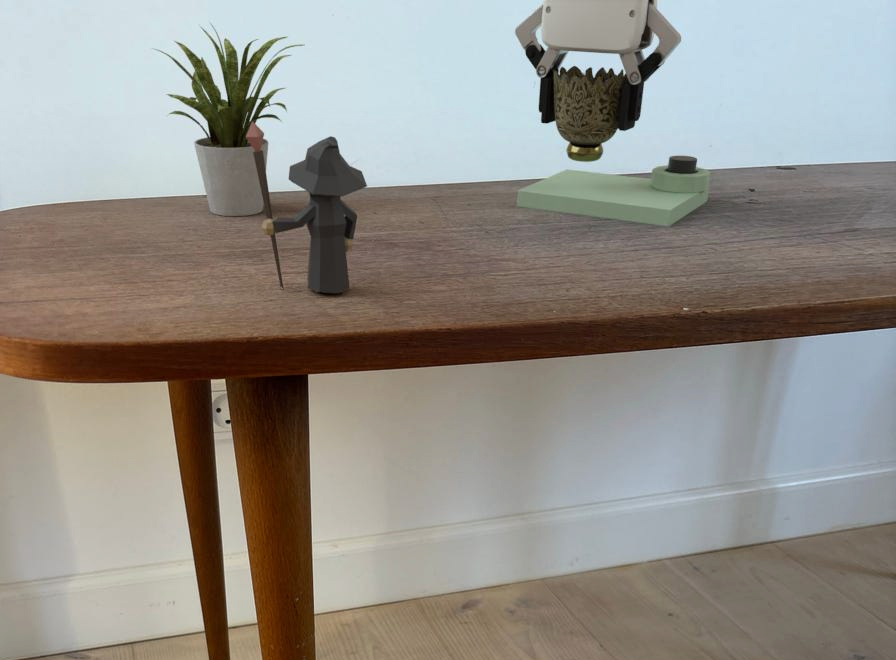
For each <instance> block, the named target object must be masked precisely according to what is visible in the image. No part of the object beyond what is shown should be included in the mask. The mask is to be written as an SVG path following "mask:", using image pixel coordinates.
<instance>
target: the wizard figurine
mask: <svg viewBox="0 0 896 660" xmlns="http://www.w3.org/2000/svg"><path fill="white" fill-rule="evenodd" d="M264 137H265V132H264V131H263V130H262V129H261V128H260V127H259V126H258V125H257V124H256V123H254V122H253V121H252V123H251V126H250V128H249V130H248V133H247V135H246V138H247V140H248V141H249V143H250V144H251V146H252V147H253V148H254V150H255V151H254V152H253V154H254V159H255V164H256V168H257V173H258V178H259V182H260V187H261V192H262V197H263V207H264V210H265V216H266V219H265V220H263V221H262V222H263V223H262V225H261V229H262V231H263V234H264V235H267V236H270V240H271V245H272V251H273V255H274V260H275V265H276V271H277V277H278V281H279V287H280V288H281V287H282V288H283V289H284V284H283V276H282V270H281V264H280V258H279V252H278V246H277V245H278V244H277V238H276V234H279V233H283V232H288V231H291V230H296V229H299V228H300V229H301V228H303V227H304V226H306V229H307V230H308V233H309V237H310V241H309V253H308V267H307V289H308V288H309V289H311V290H313V291H317V292H322V293H324V294H325V293H326V294H339V293H342V292H344V291H346V290H348V289H350V288H351V287H350V278H349V269H348V260H347V252H349V251H350V250H352V248H353V246H354V243H353V240H354V237H355V231H356V226H357V220H358V214H357V213H356V211H354V210H353V209H352V208H351V207H350V206H349V205H348V204H347V203H346V202H344V201H343V200H342V199H341V197H342V198H343V197H344V196H347V195H349V194H352V193H355V192H357V191H360V190H362V189H365V188H367V187H368V185H367V181H366V180H365V176H364V174H363V171H362V170H360V169H357V168H355V167H353V166H351V165H350V164H349V163H348V161H346V160H345V158H344V156H343V155H342V153H341V152H340V147H339V143H338V140H337V138H336V137H335V136H332V135H330V136H327V137H326V138H323V139H321V140H319V141H317V142H316V143H314V144H313V145H311V146H309V147H308V148H307V150H306V154H305V158H304V159H303V160H301V161H299V162H297V163H294V164H291V165H289V172H288V180H289V181H290V182H291V183H293V184H294V185H296V186H298V187H300V188H301V189H303V190H305V191H306V192H307V193H308V197H309V203H308V204H307V206H305V207H304V208H303V209H302V210H301V211H299V212H298V213H297V214H296V215H295V216H293V217H279V216H278V217H276V218H273V212H272V204H271V197H270V191H269V184H268V177H267V168H266V169H265V162H264V155H263V150H261V146H262V142H263V139H264ZM309 289H308V290H309ZM311 290H310V291H311ZM313 291H312V292H313ZM317 292H316V293H317ZM322 293H321V294H322Z"/></svg>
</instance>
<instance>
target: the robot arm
mask: <svg viewBox="0 0 896 660" xmlns="http://www.w3.org/2000/svg"><path fill="white" fill-rule="evenodd" d="M539 29H541V30H540V31H541V41H542V43H543V44H544V45H545V46H546V47H547V48H546V49H545V48H544V47H543V46H542V44H540V43H539V41H538V40H539V39H538V37H537V35H536V34H537V31H538V30H539ZM514 33H515V36H516V38H517V40H518V42H519V43H520V45H521V47H522V49H524V51H525V56H526V58H527V59H528V61H529V62H530V64H531V65H532V67H533V68H534V69H535V72H536V76H537V77H538V78H540V79H539V96H538V112H539V113H541V114H540V115H541V116H540V123H541V124H550V123H553V122H556V121H555V108H554V70H555V71H557V72H558V74H559V75H560V68H561V67H562V64H563V63H564V60H566V57H567V56H568V54H569V53H570V52H581V53H595V54H610V55H611V54H613V55H619V58H620V60H621V64H622V66H623V70H624V73H625V74H626V75H627V84H624V85H623V86H622V89H621V99H620V108H619V118H618V129H617V130H619V131H621V132H626V131H628V130H631V129H633V128H635V125H636V122H638V121H639V120H640V118H641V113H642V104H643V96H644V95H643V94H644V87H645V82H647V81H649V79H650V78H651V77H652V75H654V74H655V73H656V72H657V70H659V69H660V67H662V66H663V65H664V64H665V62H666V60H668V58H669V57H670V56H671V55H672V53H673V52H674V51H675V50H676V48H677V47H678V46H679V45H680V44H681V42H682V35H681V34H680V32H679V31H678V30H677V29H676V28H675V27H674V25H672V24H671V23H670V22H669V21H668V20H667V18H666V17H665V16H664V14H662V12H660V10H659V9H658V0H543V3H542V4H541V5H540V6H539V7H537V8H536V9H535V10H534V11H533V12H532V13H530V15H528V16H527V17H526V18H525V19H523V21H521V22H520V23H519V24H518V25H517V26H516V27H515V30H514ZM655 35H656V37H657V38H658V40H659V41H658V44H657V46H656V47H655V49H654V50H653V52H651V53H650V54H649V55H648V56H647V57H645V56H644V53H643V50H645V49H647V48H649V47H650V46H651V45H652V43H653V42H654V38H655Z"/></svg>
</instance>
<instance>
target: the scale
mask: <svg viewBox="0 0 896 660" xmlns="http://www.w3.org/2000/svg"><path fill="white" fill-rule="evenodd" d="M667 170H668V165H667V164H666V165H659V166H656V167H654V168H652V170H651V177H650V178H643V177H635V176H627V175H619V174H610V173H602V172H594V171H593V172H592V171H585V170H584V171H583V170H576V169H565V170H562V171H560V172H558V173H555V174H553V175H551V176H547V177H546V178H543V179H541V180H539V181H537V182H534V183H532V184H529V185H527V186H525V187H522V188H520V189H518V190H517V196H516V207H520V208H527V209H528V208H529V209H535V210H541V211H542V210H543V211H550V212H557V213H566V214H573V215H579V216H580V215H581V216H587V217H595V218H602V219H609V220H619V221H624V222H633V223H639V224H640V223H641V224H648V225H654V226H655V225H656V226H661V227H662V226H663V227H670V226H671V225H673V224H674V223H676V222H678V221H679V220H680V219H682V218H684V217H685V216H687V215H688V214H690V213H691V212H693V211H695V210H696V209H698V208H700V207H701V206H702V205H704V204H706V203H707V202H708V198H709V193H710V180H711V174H712V173H711V171H710V170H709V169H706V168H702V167H698V166H696V171H695V173H694V174H677V173H670V172H667Z"/></svg>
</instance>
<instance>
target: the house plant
mask: <svg viewBox="0 0 896 660" xmlns="http://www.w3.org/2000/svg"><path fill="white" fill-rule="evenodd" d="M209 24H210V25H211V27H212V28H213V30H214V32H215V34H216V37H217V39H218V42H219V45H220V46H218V44H217V42H216V41H215V40H214V39H213V37H212V36H211V35H210V34H209V32H208V31H206V30H205V29H204V28H203V27H202V26H201V25H200V24H198V26H199V27H200V28H201V30H202V31H203V32H204V33H205V34H206V36H207V37H208V38H209V40H210V41H211V42H212V45H213V47H214V49H215V52H216V55H217V57H218V58H217V59H218V61H219V65H220V68H221V73H222V77H223V83H224V88H225V92H226V98H227V100H226V99H224V98H222V93H221V90H220V88H219V87H218V85H216V83H215V81H214V78H213V74H212V73H211V70H210V69H209V67H208V65H207V63H206V61H205V60H204V58H203V56H201V58H199V56H197V54H196V53H194V52H193V51H192V50H191V49H190V48H188V46H186V45H185V44H183V43H181V42H179V41H177V40H174V43H176V44H177V45H178V46H179V48H180V49H181V51H183V52H184V54H185V55H186V57H187V59H188V60H189V62H190V64H191V65H192V67H193V70H194V72H193V73H190V72H189V71H188V70H187V69H186V68H185V67H184V66H183V65H182V64H181V63H180V61H178V60H177V59H176V58H174V57H173V56H171V55H170V54H168V53H167V52H164V51H162V50H159V49H156V48H153V47H151V49H153V50H156V51H158V52H160V53H162V54H164V55H166V56H167V57H169V58H170V59H171V60H172V61H173V62H174V63H175V65H177V66H178V67H179V69H181V70H182V71H183V73H184V74H186V75H187V76H188V78H189V79H190V80H191V89H192V91H193V94H194V96H195V97H194V96H190V97H187V96H184V95H179V94H171V93H167V94H165V95H167V96H169V97H170V98H172V99H176V100H178V101H180V102H181V103H183V104H184V105H186V106H187V107H190V108H192V109H193V110H195V111H196V112H198V113H199V114H200V115H201V116H202V117H203V118H204V119H205V121H206V123H207V128H208V132H207V130H206V129H205V127H203V125H201V123H200V122H199V121H198V120H197V119H195V118H194V117H193V116H192V115H190V114H188V113H187V112H185V111H181V110H174V111H172V112H170V113H168V114H167V115H166V117H168V116H169V115H179V116H184V117H186V118H189V120H190V119H191V121H193V122H195V124H197V125H198V126H199V127H200V128H201V129H202V131H203V132H204V133H205V135H206V137H203V138H199V139H195V141H194V142H193V144H194V149H195V152H196V157H197V162H198V165H199V169H200V173H201V178H202V182H203V186H204V190H205V195H206V199H207V202H208V206H209V211H210V213H212V214H214V215H218V216H225V217H244V216H252V215H256V214H257V215H258V214H259V213H261V212H263V210H264V201H263V197H262V192H261V187H260V182H259V178H258V173H257V168H256V164H255V159H254V154H253V152H254V151H255V150H254V148H253V147H252V146H251V144H250V143H249V141H248V140H247V138H246V135H247V133H248V130H249V128H250V126H251V123H252V121H253V122H254V123H255V124H256V123H257V121H258V120H261V119H265V118H267V119H274V120H275V119H276V120H278V121H280V122H281V123H282V124H283V123H284V122H283V121H282V120H281V119H280V118H279V117H278V116H277V115H276V114H271V113H266V114H262V112H263V110H264V109H265V108H267V107H269V108H271V106H274V105H276V106H280V107H281V108H282V109H284V110H285V112H286V113H288V111H287V107H286V104H284V103H282V102H274V103H270V100H271V99H272V97H274V96H275V94H276V93H278V91H281V90H285V89H287V88H289V87H281V88H276V89H273V90H271V91H269V92H268V93H267V94H266V95H265V96H264V97H260V94H261V91H262V89H263V87H264V84H265V82H266V81H267V79H268V76H269V75H270V73H271V72H272V70H273V69H275V67H276V65H277V64H278V63H279V62H280V61H281V60H282V59H284V58H288V57H291V56H292V54H286V55H285V54H284V55H280V56H277V55H278V54H279V53H281V52H283V51H284V50H287V49H289V48H294V47H303V46H304V44H292V45H288V46H285V47H284V48H282V49H280V50H278V52H276V53H275V54H274V55H273V56H272V58H271V59H270V60H269V61H268V63H267V64H266V65H265V67H264V68H263V70H262V72H261V74H260V75H259V77H258V79H257V81H256V83H255V84H254V87H253V89H252V91H251V92H250V94H249V91H250V87H251V84H252V80H253V78H254V76H255V73H256V71H257V69H258V66H259V65H260V63H261V61H262V60H263V58H264V57H265V55H266V53H268V51H270V49H271V48H272V47H273V46H274V44H275V43H277V42H278V41H281V40H284V39H287V38H288V36H281V37H276V38H272V39H270V40H268V41H266V42H265V43H264V44H262V45H261V47H259V48H258V49H257V50H256V51H254V52H253V53H252V55H251V56H250V59H248V54H249V51H250V47H251V46H252V43H254V42H256V41H258V40H259V38H256V39H254V40H251V41H250V42H249V43H248V44H246V46H245V48H244V50H243V53H242V58H241V63H240V69H239V58H238V51H237V50H236V48H235V46H234V45H233V44H232V43H231V41H230V40H229V39H227V38H226V37H225V38H224V40H223V44H222V41H221V39H220V36H219V33H218V32H217V30H216V28H215V26H213V24H212V23H211V22H209ZM223 46H224V48H223ZM224 52H225V53H224ZM276 56H277V57H276ZM275 57H276V58H275ZM273 58H274V59H273ZM247 61H248V62H247ZM192 74H193V75H192ZM255 89H256V91H255V92H254V90H255ZM253 93H254V94H253ZM248 94H249V96H248ZM252 95H253V96H252ZM258 100H260V102H259V103H258V105H257V102H258ZM256 105H257V106H256ZM255 107H256V108H255ZM253 112H254V113H253ZM261 114H262V115H261ZM261 150H263V155H264V162H265V169H266V170H267V164H268V155H269V154H268V153H269V152H268V151H269V140H268V139H266V138H263V142H262V146H261Z"/></svg>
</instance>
